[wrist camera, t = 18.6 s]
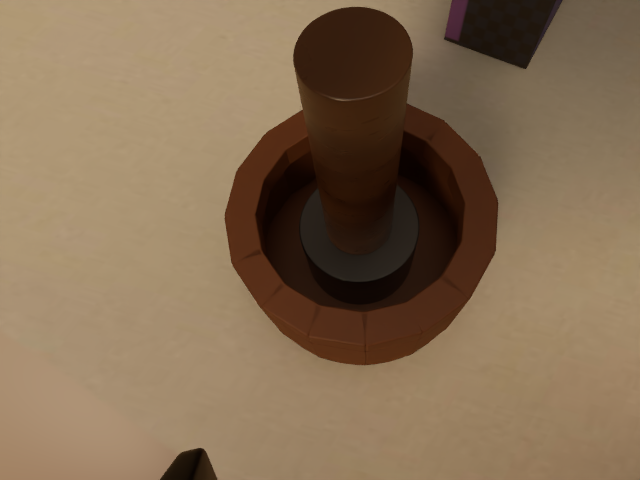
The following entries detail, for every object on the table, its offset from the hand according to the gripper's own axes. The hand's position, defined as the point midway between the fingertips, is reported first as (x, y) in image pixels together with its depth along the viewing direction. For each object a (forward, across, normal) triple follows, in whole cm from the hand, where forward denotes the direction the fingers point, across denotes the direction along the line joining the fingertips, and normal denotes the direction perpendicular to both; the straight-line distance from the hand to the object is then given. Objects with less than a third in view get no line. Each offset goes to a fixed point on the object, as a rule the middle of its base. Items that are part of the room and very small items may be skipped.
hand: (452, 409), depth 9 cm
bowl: (+14, 0, +4) cm, 15 cm away
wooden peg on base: (+14, 0, +3) cm, 14 cm away
